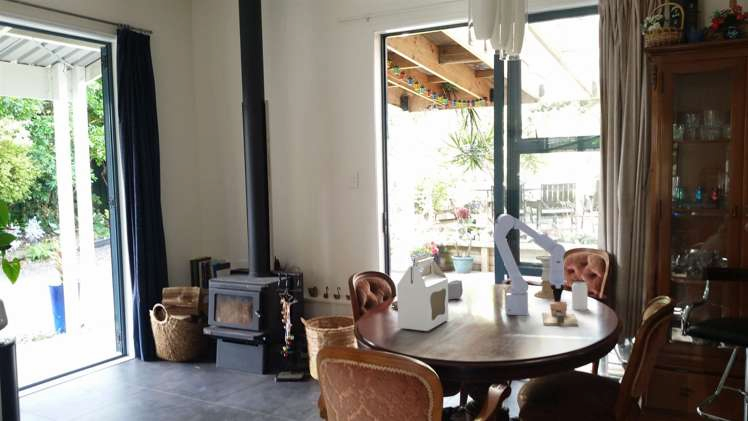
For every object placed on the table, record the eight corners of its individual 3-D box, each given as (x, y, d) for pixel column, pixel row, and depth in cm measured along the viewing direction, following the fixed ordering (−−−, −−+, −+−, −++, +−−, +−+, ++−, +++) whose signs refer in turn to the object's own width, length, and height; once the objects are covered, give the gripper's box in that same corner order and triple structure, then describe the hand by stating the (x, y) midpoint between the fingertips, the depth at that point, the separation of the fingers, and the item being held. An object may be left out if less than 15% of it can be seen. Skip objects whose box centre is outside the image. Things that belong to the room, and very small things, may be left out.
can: (588, 311, 245) (588, 283, 245) (573, 310, 247) (572, 283, 246) (586, 307, 252) (585, 281, 251) (571, 307, 253) (570, 281, 252)
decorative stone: (468, 291, 279) (457, 273, 280) (467, 293, 272) (456, 276, 273) (443, 305, 282) (433, 288, 283) (442, 308, 276) (431, 291, 276)
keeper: (550, 315, 234) (550, 303, 234) (550, 312, 239) (550, 301, 238) (566, 315, 232) (566, 304, 232) (566, 312, 237) (565, 302, 237)
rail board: (543, 325, 223) (543, 315, 222) (542, 314, 240) (542, 305, 240) (578, 326, 219) (578, 316, 219) (574, 316, 237) (574, 306, 236)
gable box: (427, 331, 217) (426, 259, 216) (397, 328, 224) (395, 258, 223) (448, 319, 237) (447, 253, 235) (420, 316, 243) (419, 252, 242)
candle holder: (539, 294, 286) (538, 255, 285) (563, 296, 279) (562, 256, 278) (530, 298, 276) (530, 257, 275) (555, 300, 269) (554, 259, 268)
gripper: (568, 273, 234) (568, 305, 235) (565, 268, 248) (565, 298, 249) (550, 273, 236) (550, 305, 237) (548, 268, 250) (549, 298, 251)
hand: (557, 302), depth 243 cm, fingers closed
